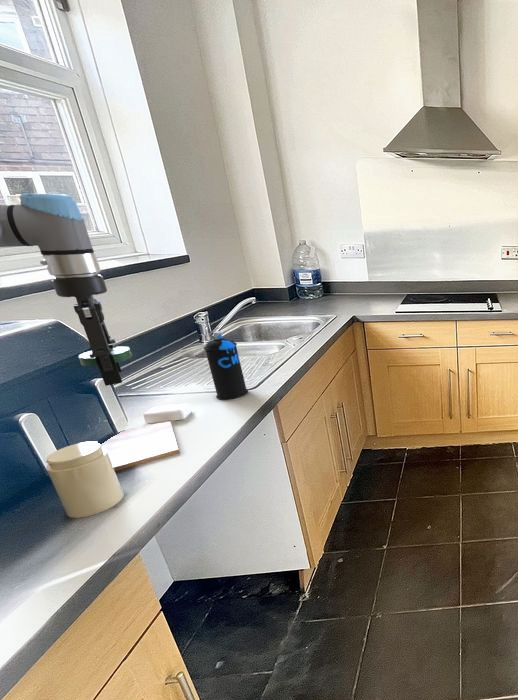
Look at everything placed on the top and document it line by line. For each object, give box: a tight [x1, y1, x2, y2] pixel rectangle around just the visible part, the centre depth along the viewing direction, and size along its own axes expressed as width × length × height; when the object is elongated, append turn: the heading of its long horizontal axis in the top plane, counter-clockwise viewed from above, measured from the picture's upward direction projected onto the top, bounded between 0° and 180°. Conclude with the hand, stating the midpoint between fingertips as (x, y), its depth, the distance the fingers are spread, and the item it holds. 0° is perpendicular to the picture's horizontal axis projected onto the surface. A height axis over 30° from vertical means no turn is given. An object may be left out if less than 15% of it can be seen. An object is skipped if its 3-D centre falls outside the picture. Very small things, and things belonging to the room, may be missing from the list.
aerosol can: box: [203, 330, 249, 401], centre depth 125 cm, size 8×8×20 cm
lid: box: [77, 346, 133, 367], centre depth 91 cm, size 8×8×2 cm
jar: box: [45, 441, 125, 519], centre depth 77 cm, size 8×8×12 cm
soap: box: [143, 402, 192, 424], centre depth 113 cm, size 9×6×3 cm, turn 107°
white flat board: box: [101, 420, 181, 472], centre depth 99 cm, size 20×14×1 cm
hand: (113, 378), depth 93 cm, fingers closed on lid, 8 cm apart
